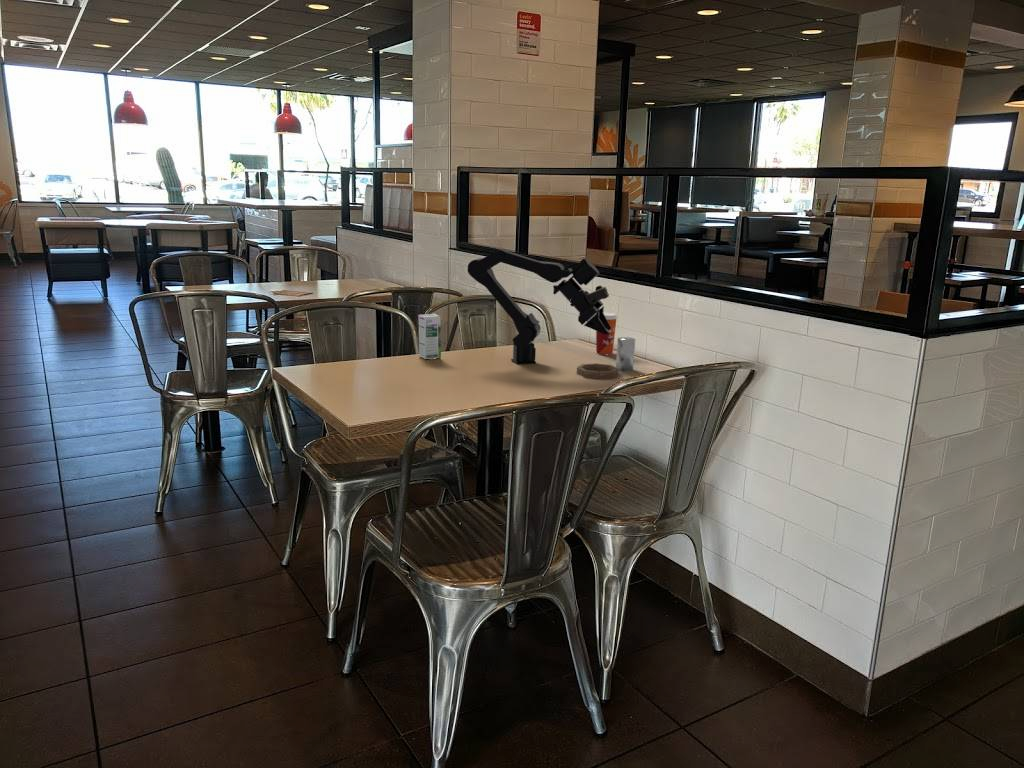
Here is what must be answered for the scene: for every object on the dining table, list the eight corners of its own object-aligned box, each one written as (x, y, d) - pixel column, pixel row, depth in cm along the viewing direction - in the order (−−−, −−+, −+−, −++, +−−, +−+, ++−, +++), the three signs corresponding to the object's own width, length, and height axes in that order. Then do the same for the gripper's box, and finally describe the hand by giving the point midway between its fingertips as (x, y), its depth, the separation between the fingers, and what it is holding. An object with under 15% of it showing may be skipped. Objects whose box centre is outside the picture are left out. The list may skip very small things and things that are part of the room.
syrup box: (425, 360, 251) (424, 316, 247) (418, 356, 256) (418, 313, 252) (441, 359, 253) (441, 315, 250) (434, 355, 258) (434, 313, 255)
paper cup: (608, 356, 263) (610, 316, 260) (589, 353, 268) (591, 313, 264) (619, 353, 269) (621, 313, 266) (600, 350, 274) (602, 311, 270)
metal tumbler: (621, 371, 241) (622, 340, 239) (612, 368, 246) (614, 337, 244) (636, 370, 243) (638, 340, 240) (627, 367, 248) (629, 336, 245)
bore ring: (588, 379, 230) (588, 373, 229) (571, 371, 241) (572, 364, 240) (623, 377, 234) (624, 370, 233) (605, 368, 245) (605, 362, 244)
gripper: (590, 281, 231) (625, 319, 231) (597, 275, 249) (630, 310, 249) (563, 305, 235) (598, 343, 235) (573, 298, 252) (604, 332, 253)
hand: (608, 331), depth 243 cm, fingers open, 9 cm apart
